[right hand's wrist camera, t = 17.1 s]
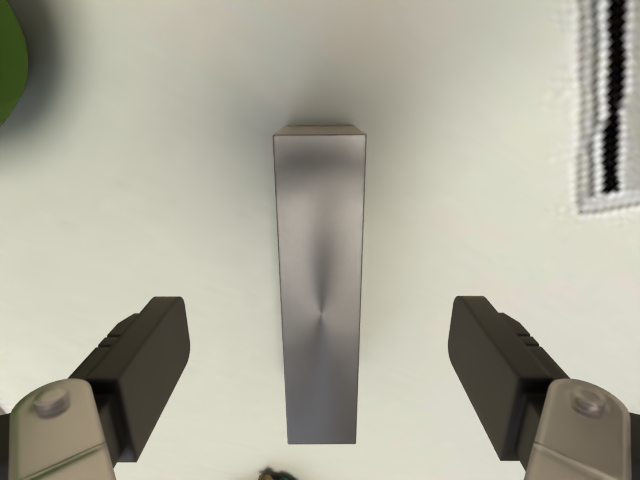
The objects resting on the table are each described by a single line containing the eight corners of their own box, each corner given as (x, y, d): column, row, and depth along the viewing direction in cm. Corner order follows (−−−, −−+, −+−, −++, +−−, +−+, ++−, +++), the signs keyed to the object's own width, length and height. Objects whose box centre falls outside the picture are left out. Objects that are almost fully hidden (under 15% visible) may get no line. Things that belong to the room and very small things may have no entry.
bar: (285, 125, 32) (272, 134, 24) (354, 125, 32) (366, 134, 24) (294, 372, 41) (287, 444, 32) (348, 372, 41) (356, 444, 32)
